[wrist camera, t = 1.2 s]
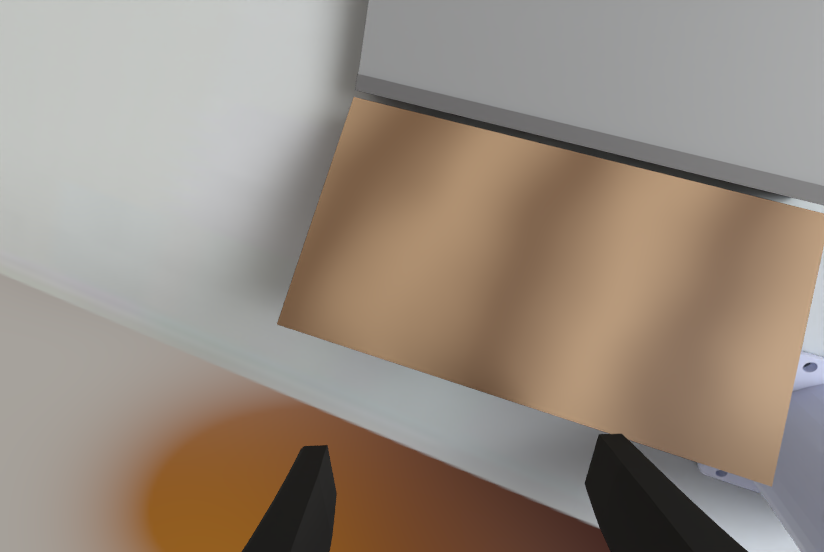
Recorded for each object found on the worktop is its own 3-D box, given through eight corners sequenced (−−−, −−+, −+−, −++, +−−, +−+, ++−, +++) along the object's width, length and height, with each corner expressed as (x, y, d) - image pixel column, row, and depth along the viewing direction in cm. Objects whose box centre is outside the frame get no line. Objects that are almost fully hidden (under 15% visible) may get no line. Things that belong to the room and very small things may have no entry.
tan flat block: (791, 225, 15) (830, 215, 13) (737, 469, 14) (771, 486, 13) (361, 116, 17) (353, 96, 15) (292, 323, 16) (276, 324, 15)
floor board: (947, -18, 12) (1008, -37, 10) (802, 198, 15) (834, 207, 13) (399, -116, 14) (387, -143, 12) (367, 92, 17) (355, 90, 15)
